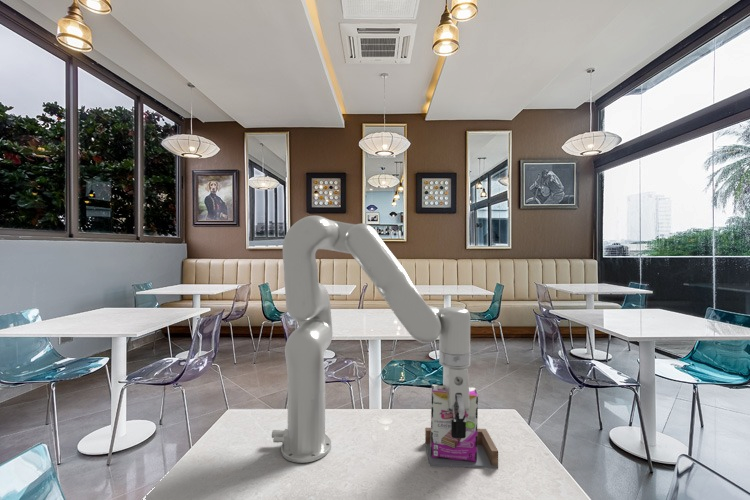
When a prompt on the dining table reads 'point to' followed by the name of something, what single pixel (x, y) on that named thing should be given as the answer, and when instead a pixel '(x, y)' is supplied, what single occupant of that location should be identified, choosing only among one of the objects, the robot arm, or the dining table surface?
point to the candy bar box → (441, 428)
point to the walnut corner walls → (482, 439)
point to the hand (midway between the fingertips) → (454, 426)
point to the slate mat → (481, 460)
